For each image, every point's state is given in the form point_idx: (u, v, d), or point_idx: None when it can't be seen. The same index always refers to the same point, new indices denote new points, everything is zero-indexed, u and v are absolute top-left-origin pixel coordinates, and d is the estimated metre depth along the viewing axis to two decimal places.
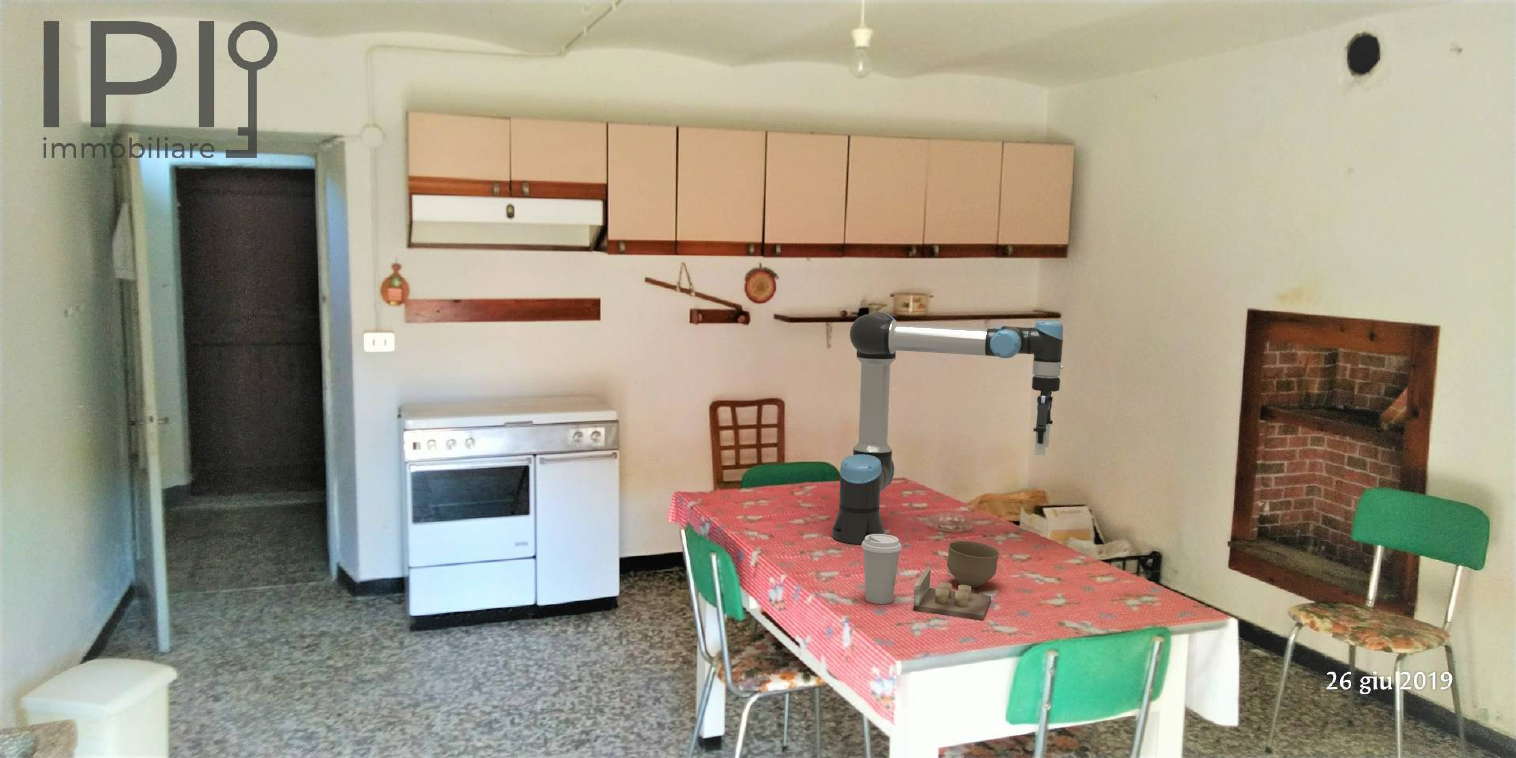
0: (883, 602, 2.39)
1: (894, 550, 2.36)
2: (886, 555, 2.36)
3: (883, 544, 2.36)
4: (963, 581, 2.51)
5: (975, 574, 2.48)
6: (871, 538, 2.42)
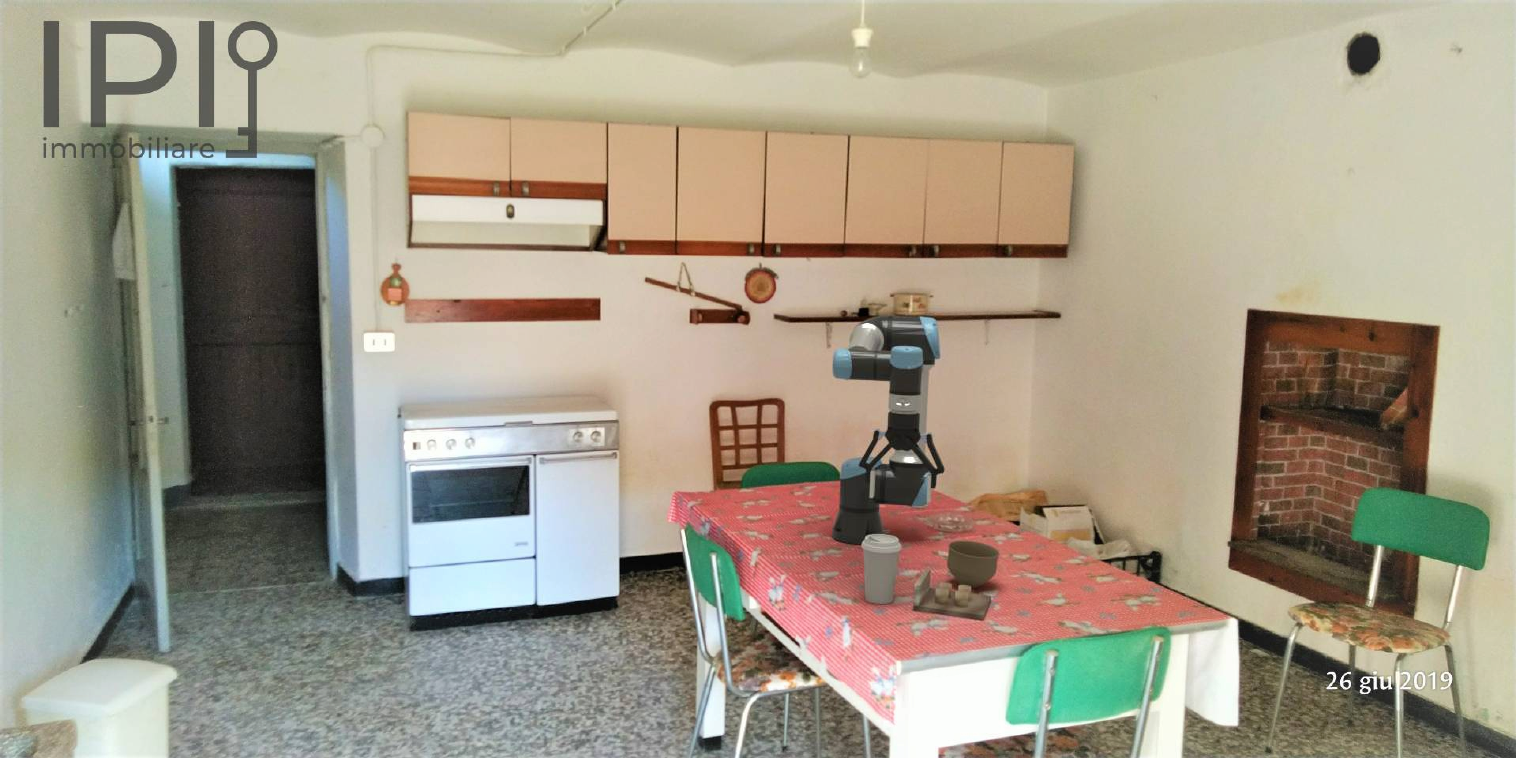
0: (883, 602, 2.39)
1: (894, 550, 2.36)
2: (886, 555, 2.36)
3: (883, 544, 2.36)
4: (963, 581, 2.51)
5: (975, 574, 2.48)
6: (871, 538, 2.42)
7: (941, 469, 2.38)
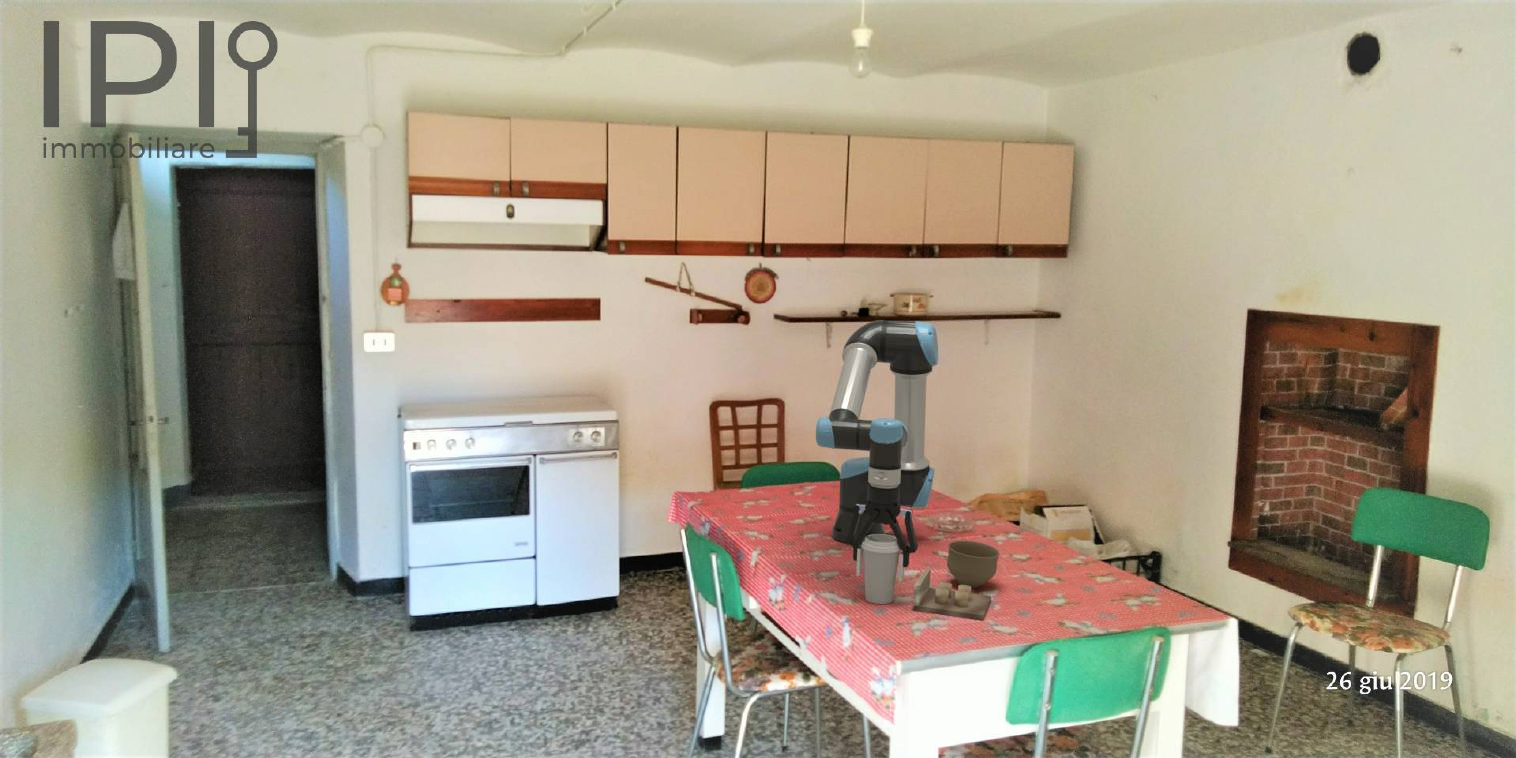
0: (883, 602, 2.39)
1: (894, 550, 2.36)
2: (886, 555, 2.36)
3: (883, 544, 2.36)
4: (963, 581, 2.51)
5: (975, 574, 2.48)
6: (871, 538, 2.42)
7: (913, 548, 2.36)
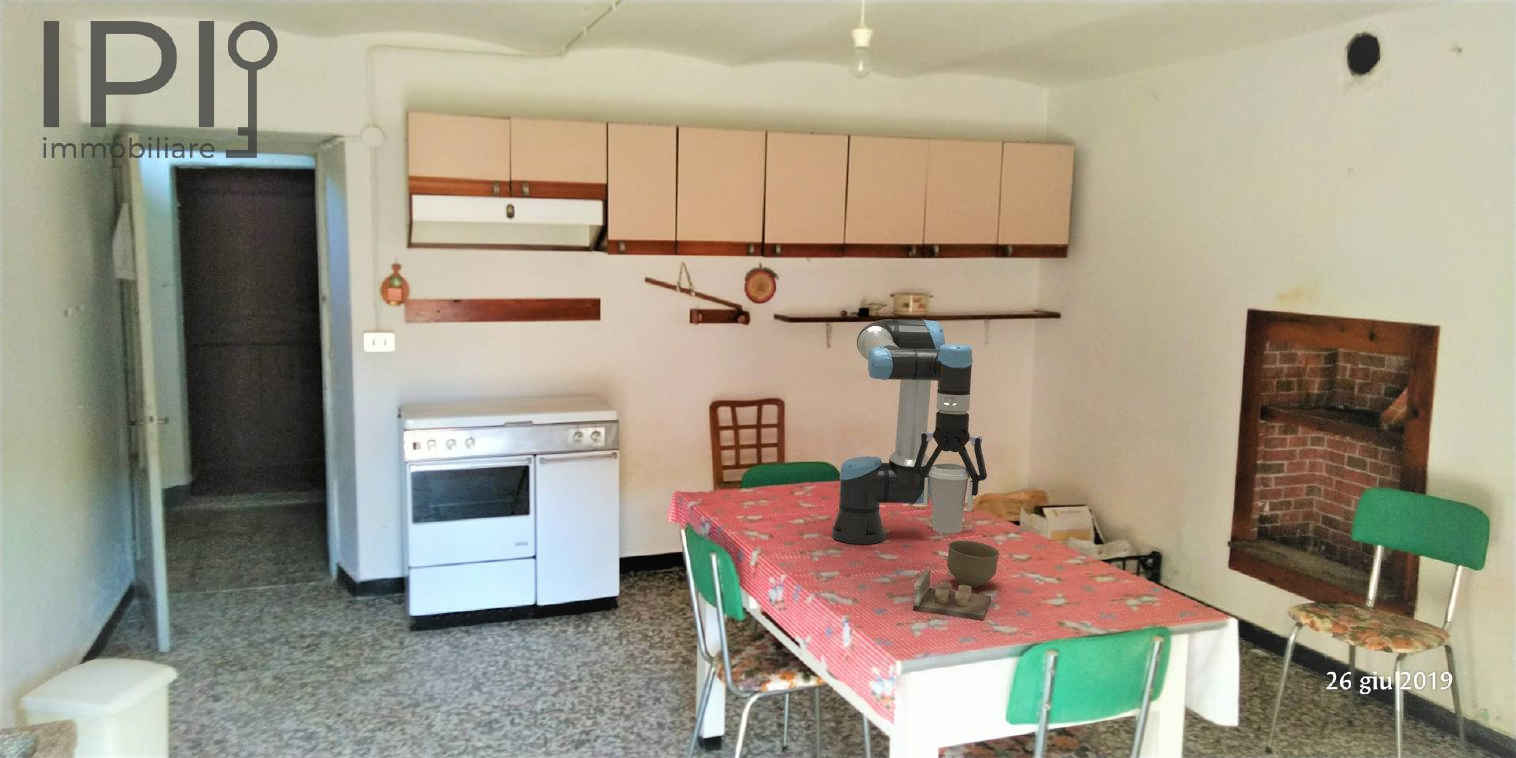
0: (951, 531, 2.34)
1: (963, 478, 2.31)
2: (955, 483, 2.31)
3: (952, 471, 2.31)
4: (963, 581, 2.51)
5: (975, 574, 2.48)
6: (938, 467, 2.37)
7: (983, 476, 2.31)
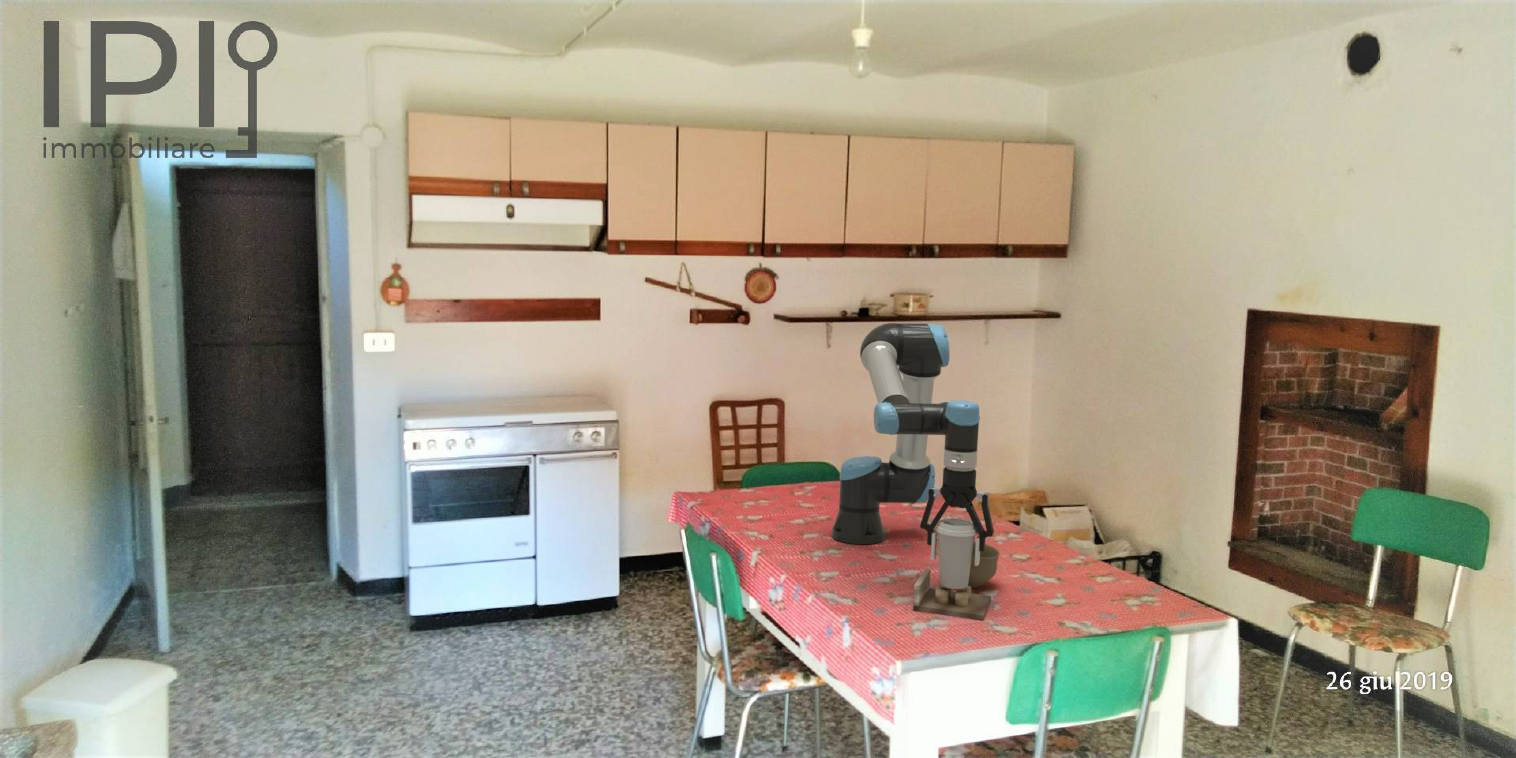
0: (959, 587, 2.35)
1: (971, 534, 2.33)
2: (963, 539, 2.33)
3: (960, 528, 2.33)
4: None
5: (975, 574, 2.48)
6: (945, 522, 2.38)
7: (990, 532, 2.33)
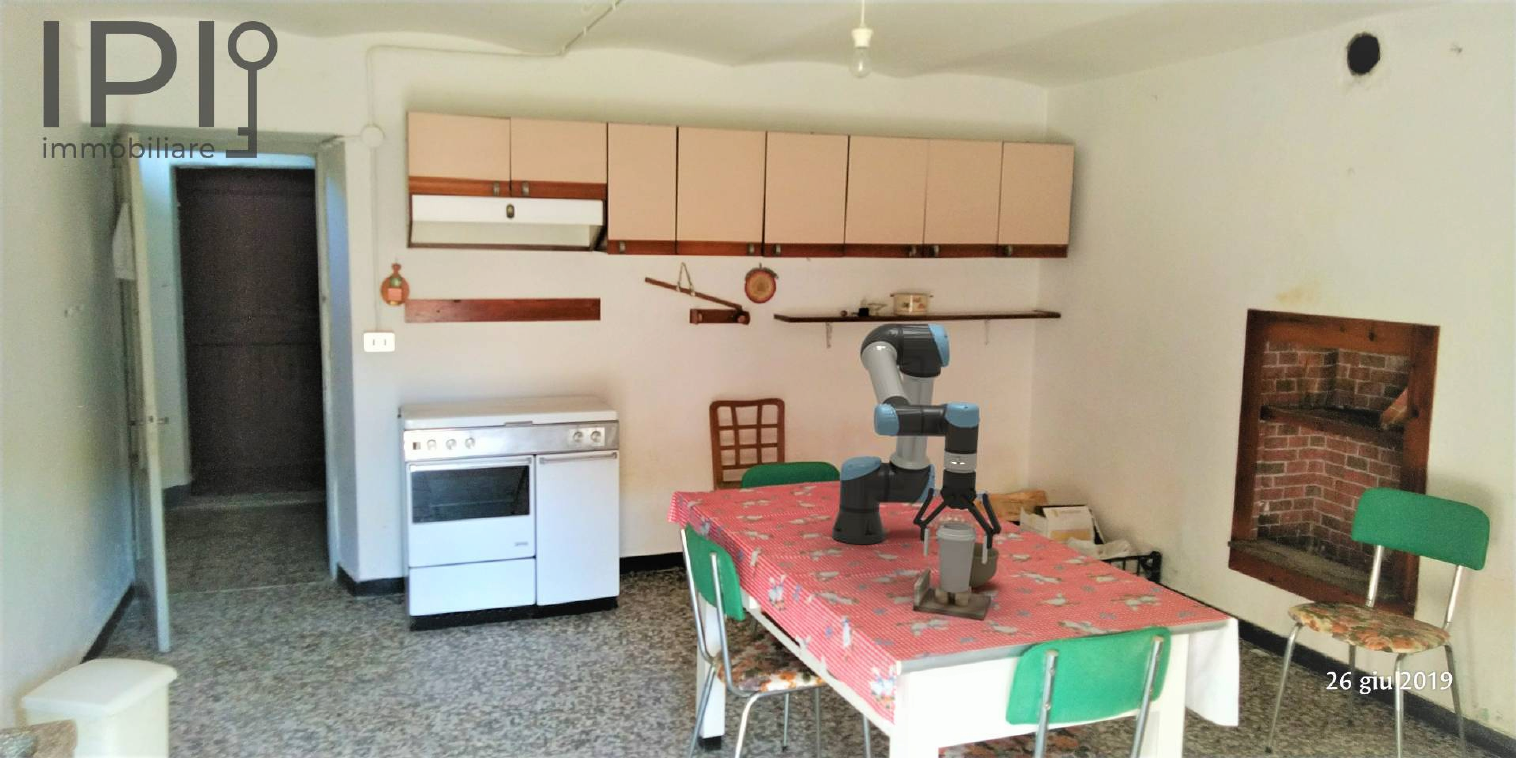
0: (959, 591, 2.35)
1: (971, 538, 2.33)
2: (963, 543, 2.33)
3: (960, 532, 2.33)
4: None
5: (975, 574, 2.48)
6: (946, 526, 2.39)
7: (997, 530, 2.32)
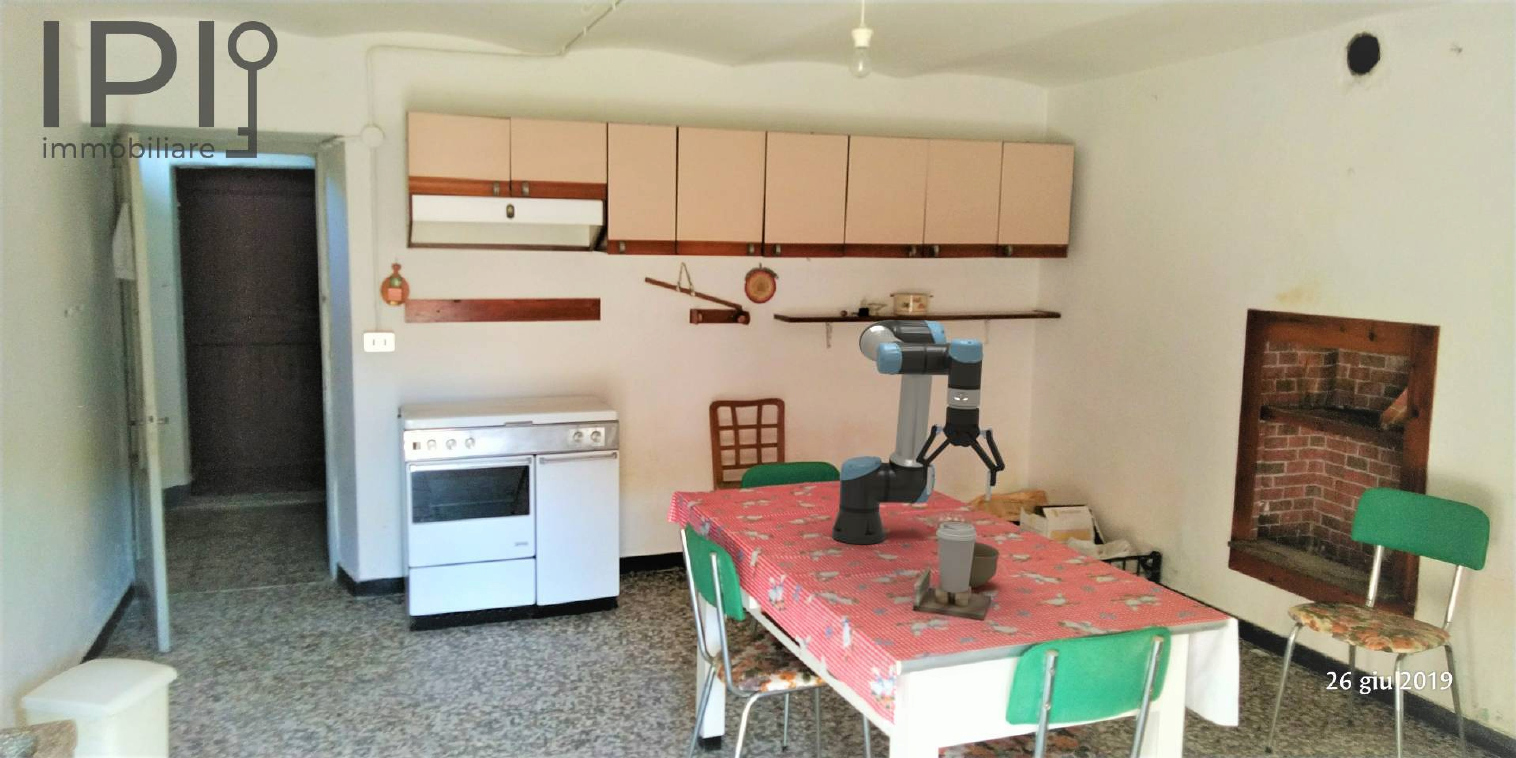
0: (959, 591, 2.35)
1: (971, 538, 2.33)
2: (963, 543, 2.33)
3: (960, 532, 2.33)
4: None
5: (975, 574, 2.48)
6: (946, 526, 2.39)
7: (1001, 466, 2.30)
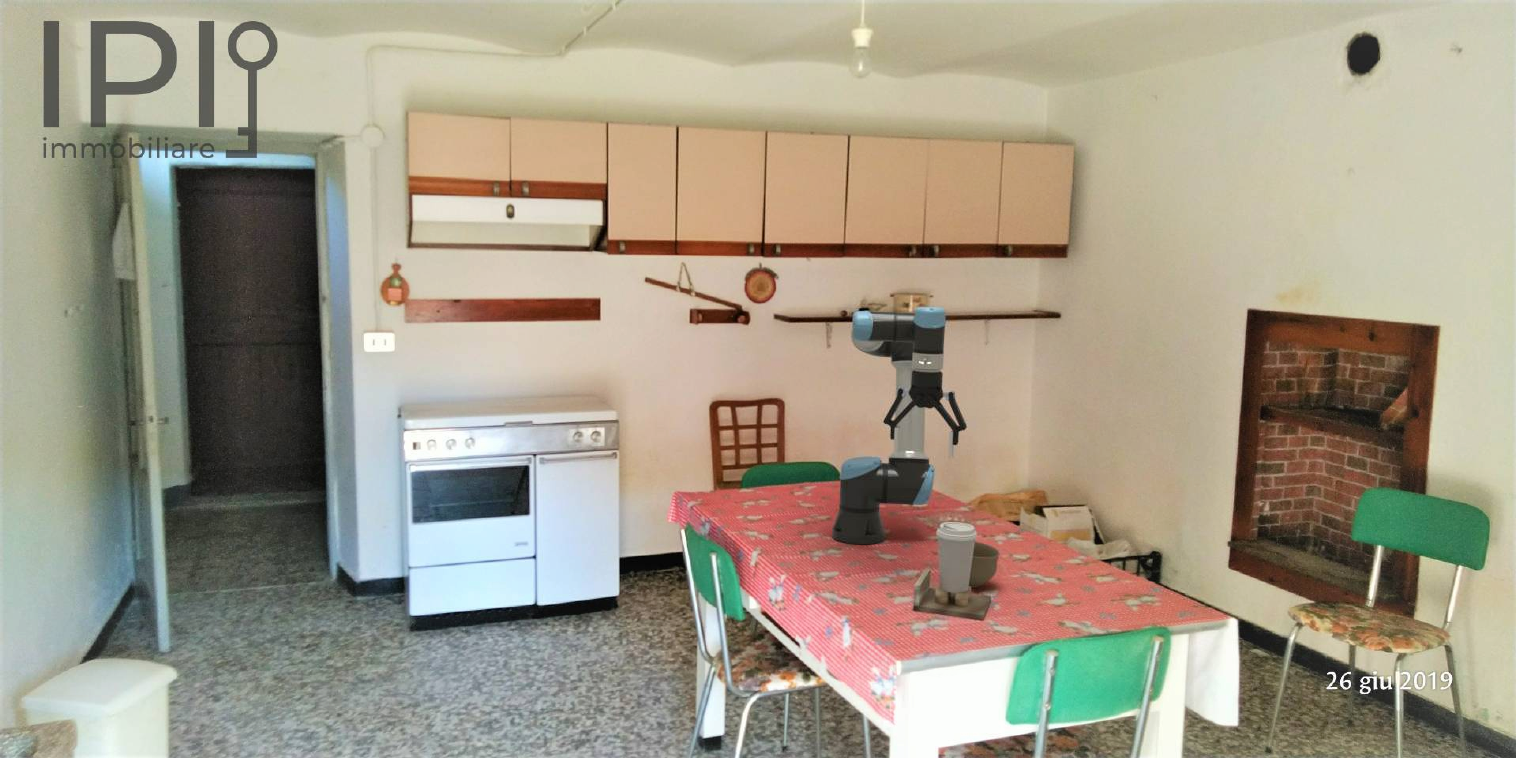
0: (959, 591, 2.35)
1: (971, 538, 2.33)
2: (963, 543, 2.33)
3: (960, 532, 2.33)
4: None
5: (975, 574, 2.48)
6: (946, 526, 2.39)
7: (962, 426, 2.45)
